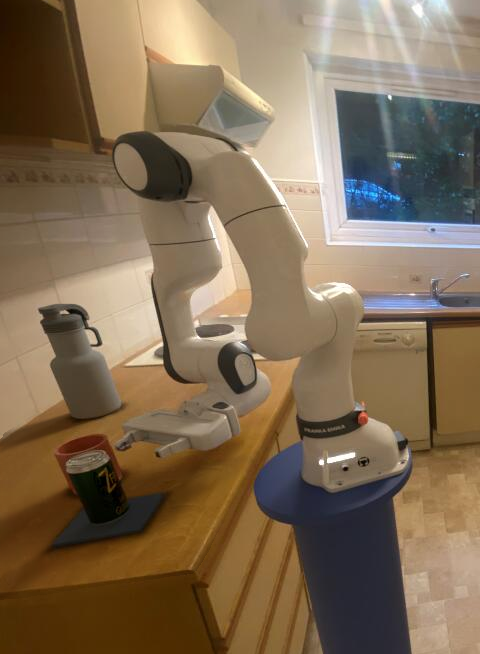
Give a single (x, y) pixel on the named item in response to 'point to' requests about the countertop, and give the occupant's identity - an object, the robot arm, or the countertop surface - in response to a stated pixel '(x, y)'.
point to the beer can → (98, 487)
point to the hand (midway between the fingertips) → (137, 451)
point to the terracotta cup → (83, 446)
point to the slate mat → (130, 524)
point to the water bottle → (79, 362)
